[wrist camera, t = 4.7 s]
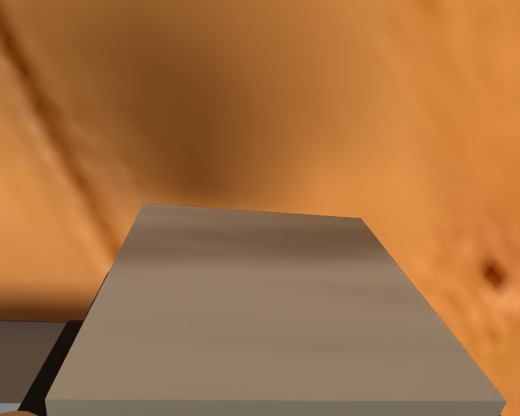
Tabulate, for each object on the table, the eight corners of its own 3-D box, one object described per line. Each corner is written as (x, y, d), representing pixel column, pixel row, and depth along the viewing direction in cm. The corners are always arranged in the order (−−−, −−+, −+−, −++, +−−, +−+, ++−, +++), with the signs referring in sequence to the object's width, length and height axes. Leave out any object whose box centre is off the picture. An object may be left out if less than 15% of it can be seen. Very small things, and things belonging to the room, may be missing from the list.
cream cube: (143, 203, 10) (45, 399, 4) (361, 218, 11) (506, 401, 5) (144, 373, 12) (80, 640, 7) (323, 375, 13) (396, 616, 8)
